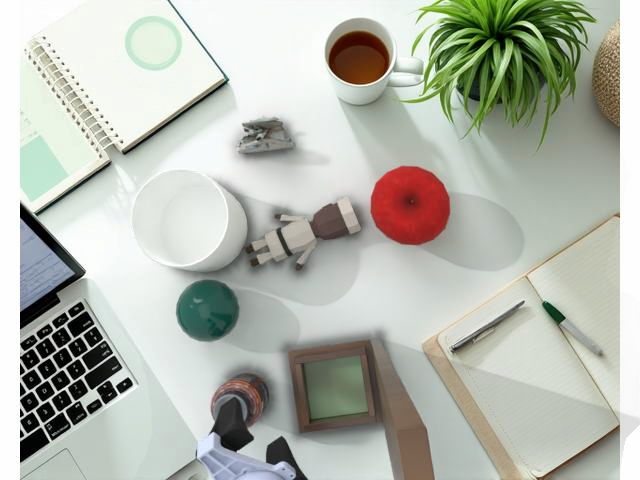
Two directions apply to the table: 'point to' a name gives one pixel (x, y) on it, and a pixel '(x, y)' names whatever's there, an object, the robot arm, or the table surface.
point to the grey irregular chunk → (264, 136)
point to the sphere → (207, 310)
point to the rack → (361, 400)
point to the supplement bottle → (243, 396)
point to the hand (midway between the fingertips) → (253, 423)
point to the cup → (188, 221)
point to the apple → (410, 205)
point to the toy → (306, 233)
